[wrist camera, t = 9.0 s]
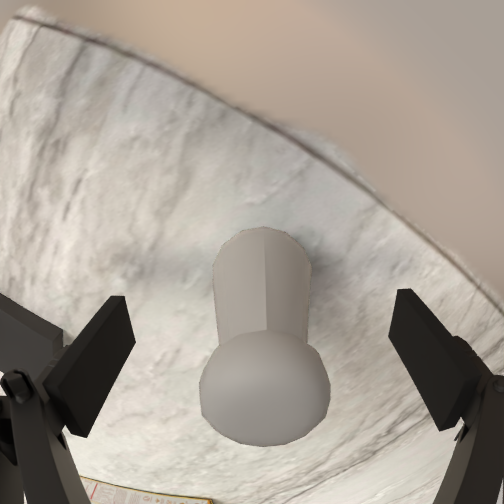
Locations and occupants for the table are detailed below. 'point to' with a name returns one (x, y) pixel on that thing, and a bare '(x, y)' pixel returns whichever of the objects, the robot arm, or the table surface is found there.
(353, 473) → the table surface
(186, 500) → the cereal box
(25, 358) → the scale
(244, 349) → the salt shaker
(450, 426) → the robot arm
